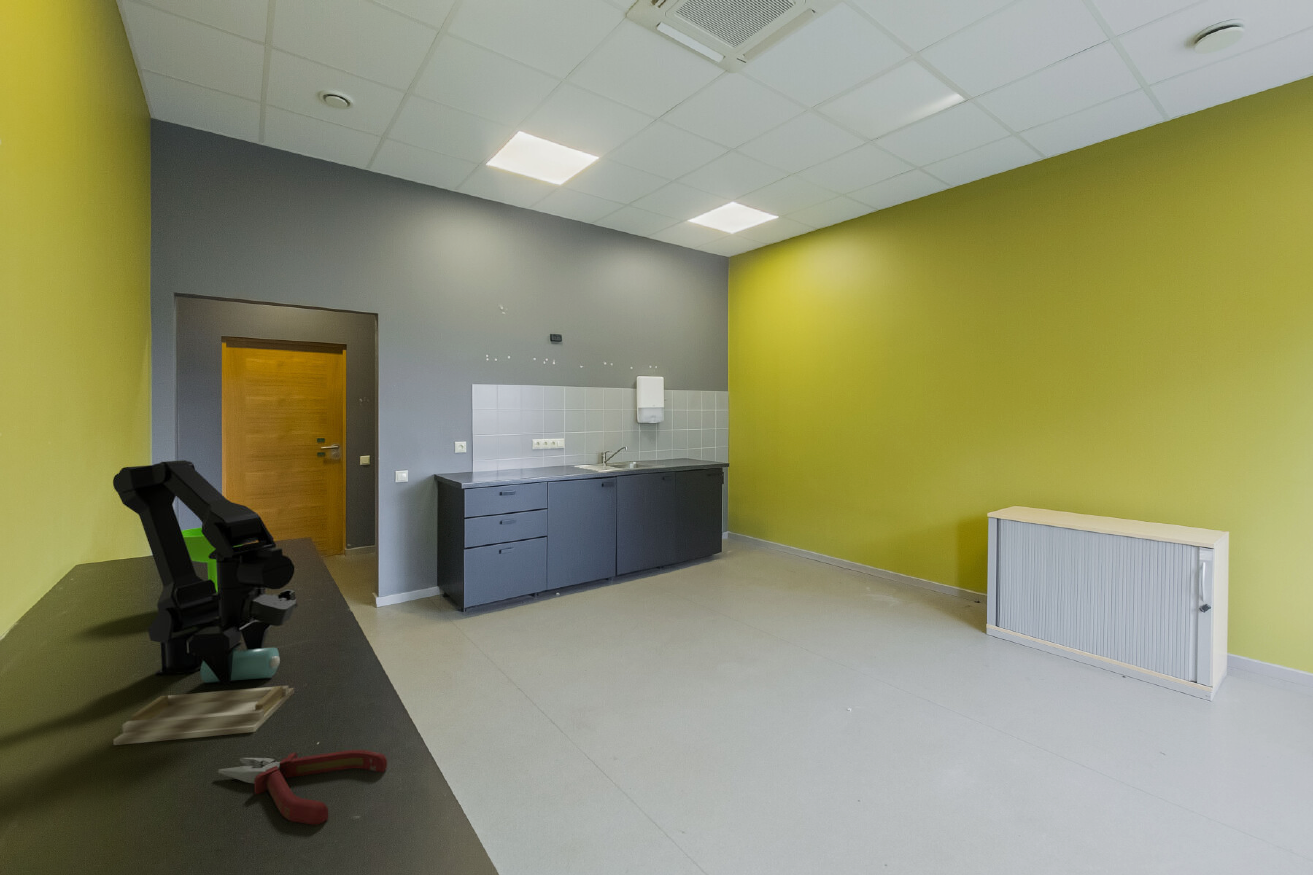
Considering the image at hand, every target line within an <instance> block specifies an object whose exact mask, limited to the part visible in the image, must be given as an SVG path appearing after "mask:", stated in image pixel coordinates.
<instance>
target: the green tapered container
mask: <svg viewBox="0 0 1313 875" xmlns="http://www.w3.org/2000/svg"><path fill="white" fill-rule="evenodd" d="M201 530H202V526H200V527H194V528H189V529H188V528H187V529H184V530H183V529H181V531H182V534H183V537H184V540H185V543H186V546H187V549H188V551H189V554H190V557H191V560H192V562H198V563H207V564H206V565H207V566H206V567H207V580H209V579H211V580H212V581H213V582H214V583H215V588H216V591H217V568H216V559H209V557H208V556H209V555H210V554H211V553H212V552H213V551H214V550H215V548H214V547H213V546H212V545H211V544H210V543H209V542H208V540H207V539H206V538H205V536H204V535H203V534H202V532H201ZM239 546H241V545H239ZM234 547H236V546H234ZM217 592H218V591H217Z"/></svg>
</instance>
